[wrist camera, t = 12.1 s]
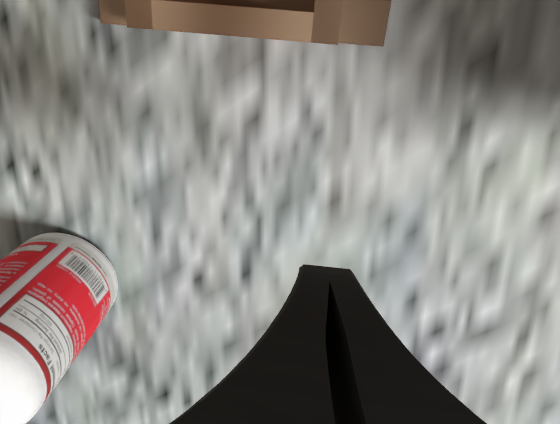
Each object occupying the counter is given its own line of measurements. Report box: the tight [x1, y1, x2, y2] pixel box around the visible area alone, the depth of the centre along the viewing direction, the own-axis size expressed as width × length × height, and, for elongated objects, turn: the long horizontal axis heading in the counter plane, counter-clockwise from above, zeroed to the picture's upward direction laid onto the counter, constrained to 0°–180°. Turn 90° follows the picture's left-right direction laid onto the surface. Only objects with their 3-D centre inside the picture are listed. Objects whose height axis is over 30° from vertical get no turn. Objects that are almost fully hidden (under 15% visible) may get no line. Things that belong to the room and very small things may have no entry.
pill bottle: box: [0, 233, 118, 424], centre depth 19 cm, size 6×6×11 cm
